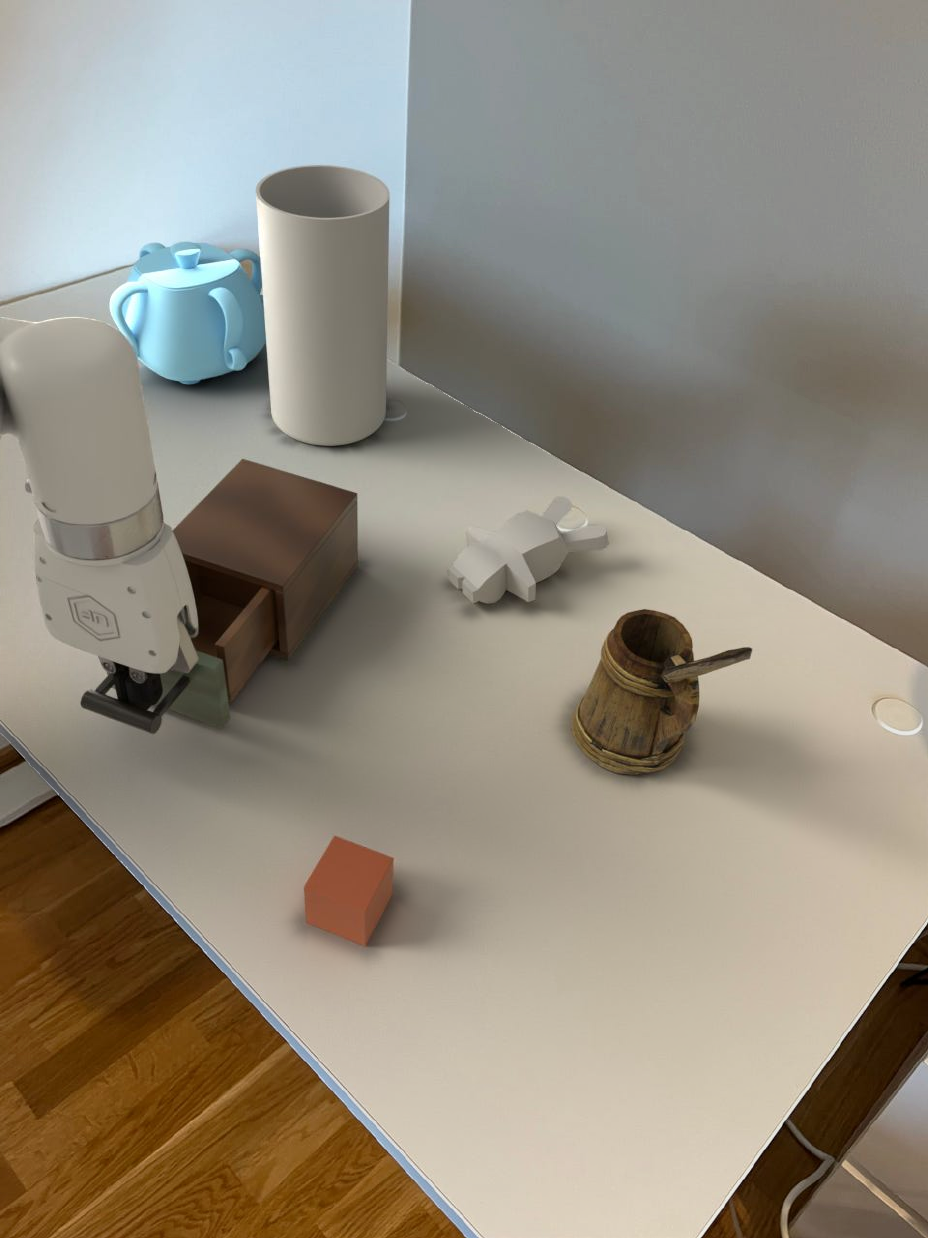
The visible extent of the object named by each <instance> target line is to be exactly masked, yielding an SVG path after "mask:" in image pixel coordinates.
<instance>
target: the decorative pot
mask: <svg viewBox="0 0 928 1238" xmlns="http://www.w3.org/2000/svg"><path fill="white" fill-rule="evenodd" d="M138 257H139V259H137V260H136V261H135V262H134V264H133V265H132V268H131V269H130V272H129V275H128V278H127V280H126V283H124V284H122V285H120V286H119V287H117V288H116V290H114V292H113V293H112V295H111V297H110V300H109V312H110V314H111V317H112V319H113V321H114V323H115V324H116V327H117V329H118V330H119V331H120V332H121V333H122V334H123V335H125V336H126V337H127V339H128V340H129V342H130V343H131V345H132V346H133V348H134V351H135V353H136V357H137V360H139V361H140V362H141V363H142V364H143V365H145V367H146V368H148V369H149V370H151V371H152V372H154V373H155V374H157V375H159V376H160V377H163V378H165V379H167V380H170V381H175V382H179V383H181V384H183V385H195V384H199V382H201V380H207V379H210V378H215V377H219V376H223V375H225V374H229V373H231V372H234V371H242V370H243V369H244V368H246V366H247V364H248V363H250V362H252V361H253V360H254V359H256V357H257V356H258V355H259V354H260V352H261V351H262V350H263V348H264V346H265V345H266V331H265V317H264V302H263V294H261V293H262V290H263V288H262V274H261V259H260V255H259V254H257V253H256V252H254V250H253V251H252V250H250V249H246V248H239V249H235V250H233V251H231V252H229V253H228V252H227V251H225V250H223V249H222V248H220V247H217V246H216V245H213V244H210V243H207V242H192V241H180V242H179V241H178V242H175V243H174V244H172V245H171V246H165V245H164V244H162V243H160V242H150V243H147V244H145V245H143V246H142V247H141V248H140V250H139V256H138ZM243 261H251V265H252V271H251V277H249V274H248V273H247V272H246V270H245V268H244V267H243V266H242V264H241V262H243Z"/></svg>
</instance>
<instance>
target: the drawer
mask: <svg viewBox="0 0 928 1238" xmlns="http://www.w3.org/2000/svg"><path fill="white" fill-rule="evenodd" d="M184 561H185V564H186V567H187V571H188V574H189V578H190V581H191V585H192V590H193V594H194V599H195V604H196V609H197V616H198V635H197V636H196V637H194V638H191V641H192V643H193V645H194V648H195V650H196V653H197V655H198V657H199V661H198V662H197V663H196V665H195V666H194V667H193V668H192V670H191V671H190V672H189V673H184V672H178V671H172V670H168V671H167V672H165V673H160V677H161V682H162V687H163V693H162V696H161V698H160V699H159V701H158V702H157V703H156V704H155V705H156V707H155V708H154V709H153V710H152V711H151V710H149V709H148V710H146V709H143V708H140V707H137V706H135V705H132V704H129V703H127V702H124V701H121V700H119V699H118V698H117V697H114V696H110V695H107V694H108V692H109V691H110V690H111V689H113V690H116V689H115V685H114V681H113V674H111V673H108V672H107V671H106V675H107V676H105V678H104V679H103V680H102V681H101V683H99V685H98V686H96V688H95V689H91V688H89V689H87V690H86V691H85V692H84V693H83V694H82V696H81V698H80V707H81V708H82V709H83V710H86V711H89V712H91V713H95V714H97V715H99V716H102V717H106V718H108V719H110V720H113V721H116V722H118V723H121V724H123V725H127V726H128V727H131V728H134V729H137V730H140V731H142V732H144V733H147V734H150V735H155V734H156V733H157V732H158V731H159V730H160V728H161V725H162V721H163V716H164V715H165V714H166V712H167V711H169V710H170V711H173V712H176V713H177V714H181V715H184V716H186V717H189V718H192V719H194V720H197V721H200V722H203V723H205V724H208V725H211V726H214V727H215V728H219V729H221V730H222V729H223V730H224V729H225V727H226V726H227V724H228V723H229V721H230V720H231V713H230V705H229V702H233V700H234V699H235V698H236V696H237V695H238V694H239V692H241V690H242V689H243V687H244V686H245V685H246V684H247V682H248V681H249V679H250V678H251V676H252V675H253V674H254V673H255V671H257V669H258V667H259V666H260V665H261V663H262V662H263V661H264V660H265V658H266V657H267V656H268V655H269V654H268V653H269V652H270V650H271V649H272V648H273V646H274V645H275V644H276V642H277V641H278V640H279V632H278V619H277V606H276V593H275V591H276V590H273V589H270V588H267V587H264V586H261V585H258V584H255V583H252V582H249V581H246V580H243V579H240V578H237V577H234V576H231V575H228V574H225V573H222V572H219V571H216V570H213V569H210V568H207V567H204V566H201V565H198V564H195V563H192V562H189V561H186V560H184Z"/></svg>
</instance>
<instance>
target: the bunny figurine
mask: <svg viewBox="0 0 928 1238" xmlns="http://www.w3.org/2000/svg"><path fill="white" fill-rule="evenodd" d="M572 508H573V503H572V501H571V500H570V499H569V498H567V497H565V496H563V495H562V496H555V497H554V498H552V500H551V501H550V503H549V504H548V505H547V506H546V508H545V510H544V512H543V513H542V515H539V514H536V513H535V512H532V511H530V510H528V509H526V510H523V511H521V512H517V513H516V514H515V515H513V516H511V517H510V518H508V519H507V520H506V521H505V522H504V523H502V525H501V526H500V527H499V529H498V531H493V530H488V529H485V528H481V527H477V526H473V525H472V526H470V527H469V528H468V529H467V530H466V531H465V538H466V539H465V540H466V542H465V543H466V546H465V547H464V548H463V549H462V550H461V552H460V553H459V554H458V555H457V557H456V558H455V560H454V561H453V563H452V565H450V566H448V567H447V581H449V583H451V584H452V585H453V586H454V587H455V588H456V589H457V590H462V595H463V596H465V598H466V599H468V600H469V601H470V603H471V604H475V603H478V602H481V603H484V604H487V605H488V604H495V603H497V601H500V600H501V599H502V597H503V596H504V594H505V592H506V591H507V592H510V593H512V594H514V595H515V596H516V597H518V598H520V599H521V600H524V601H525V602H527V603H530V602H533V601H535V600H536V594H537V593H536V591H537V590H536V589H537V583H539V582H541V581H543V580H546V579H548V578H549V577H551V576H552V575H554V574H555V573H556V572H558V571H559V569H560V567H561V566H562V564H563V563H564V560H566V558H567V556H568V554H569V553H573V552H589V551H601V550H604V549H607V548H608V546H609V544H610V540H609V537H608V533H607V530H606V528H605V527H604V526H602V525H598V524H594V525H592V524H591V525H586V526H584V527H580V528H575V529H572V530H568V531H564V532H561V531H560V529H559V528H558V526H557V525H558V524H559V523H560V522H561V521H562V520H563V519H564V518H565V517H566V516H567V515H568V514H569V513H570V512H571V511H572Z"/></svg>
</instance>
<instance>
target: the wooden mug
mask: <svg viewBox="0 0 928 1238" xmlns="http://www.w3.org/2000/svg"><path fill="white" fill-rule="evenodd" d="M693 647H694V645H693V638H692V636H691V634H690V632H689V631H688V629H687V627H686V626H685V625H684V624H683V623H682V622H681V621H680V620H679V619H677V618H676V617H675V616H672V615H670V614H669V613H664V612H662V611H657V610H655V609H654V610H653V609H647V608H643V609H638V610H633V611H629V612H626V613H624V614H623V615H621V616H620V617H619V618H618V620H617V621H616V623H615V625H614V627H613V628H611V630H610V631H609V632H608V634H607V635H606V638H605V640H604V641H603V644H602V645H601V649H600V660H599V662H598V665H597V667H596V669H595V671H594V674H593V676H592V679H591V680H590V682H589V685H588V688H587V690H586V691H585V694H584V695H583V696H582V697H581V698H580V700H579V702H578V703H577V704H578V705H577V706H576V708H575V710H574V713H573V715H572V717H571V723H570V731H571V733H572V734H571V735H572V737H573V740H574V741H575V743H576V744H577V746H578V748H579V749H580V751H581V752H582V753H583V754H585V756H587V758H589V759H590V760H591V761H592V762H593V763H595V764H597V765H598V766H599V767H601V768H603V769H606V770H609V771H611V772H614V773H616V774H624V775H631V776H635V775H640V774H648V773H654V772H659V771H662V770H664V769H666V768H667V767H668V766H670V765H671V764H673V763H674V761H675V760H676V759H677V758H678V756H679V755H680V753H681V752H682V749H683V747H684V744H685V740H686V734H687V732H688V731H689V730H690V729H691V728H692V726H693V724H694V723H695V722H696V720H697V716H698V712H699V708H700V683H699V682H700V681H699V677H700V676H702V675H706V674H709V673H712V672H714V671H718V670H721V669H724V668H726V667H730V666H732V665H735V664H738V663H741V662H744V661H747V660H750V659H751V656H752V652H753V648H752V647H750V646H746V647H744V646H743V647H739V648H734V649H732V648H731V649H726V650H724V651H722V652H719V653H716V654H715V655H710V656H708V657H704V658H701V659H697V660H695V654H694V649H693Z"/></svg>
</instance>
